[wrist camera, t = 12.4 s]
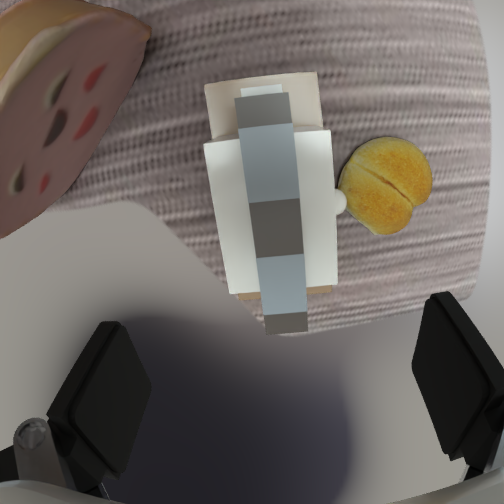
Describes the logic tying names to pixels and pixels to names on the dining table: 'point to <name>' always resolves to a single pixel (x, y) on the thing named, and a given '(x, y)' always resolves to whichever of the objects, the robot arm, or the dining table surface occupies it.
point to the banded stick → (274, 208)
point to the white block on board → (309, 175)
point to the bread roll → (385, 183)
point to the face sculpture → (58, 95)
